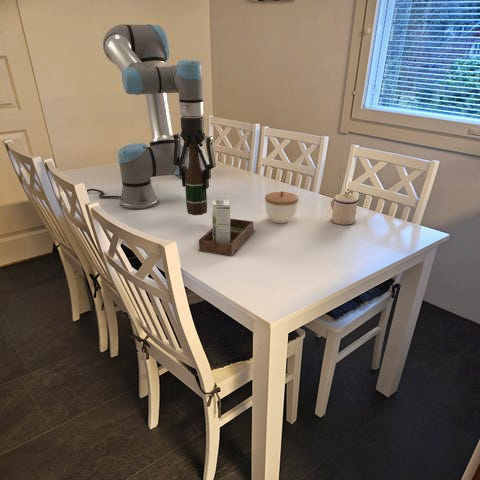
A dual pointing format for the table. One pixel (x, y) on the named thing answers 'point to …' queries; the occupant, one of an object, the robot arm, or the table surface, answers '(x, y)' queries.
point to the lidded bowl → (281, 206)
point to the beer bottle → (195, 184)
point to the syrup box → (221, 221)
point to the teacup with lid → (344, 208)
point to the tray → (237, 237)
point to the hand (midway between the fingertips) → (195, 186)
